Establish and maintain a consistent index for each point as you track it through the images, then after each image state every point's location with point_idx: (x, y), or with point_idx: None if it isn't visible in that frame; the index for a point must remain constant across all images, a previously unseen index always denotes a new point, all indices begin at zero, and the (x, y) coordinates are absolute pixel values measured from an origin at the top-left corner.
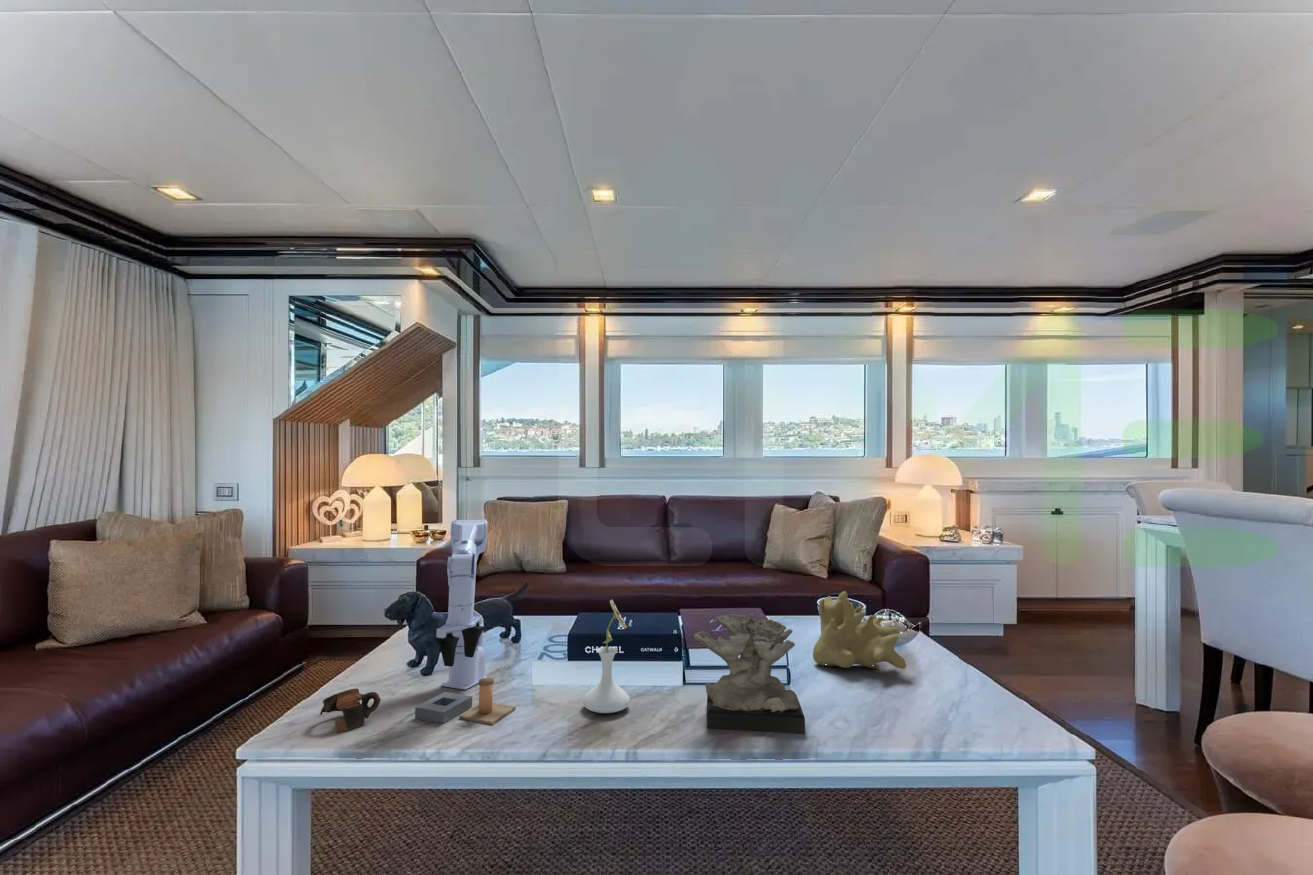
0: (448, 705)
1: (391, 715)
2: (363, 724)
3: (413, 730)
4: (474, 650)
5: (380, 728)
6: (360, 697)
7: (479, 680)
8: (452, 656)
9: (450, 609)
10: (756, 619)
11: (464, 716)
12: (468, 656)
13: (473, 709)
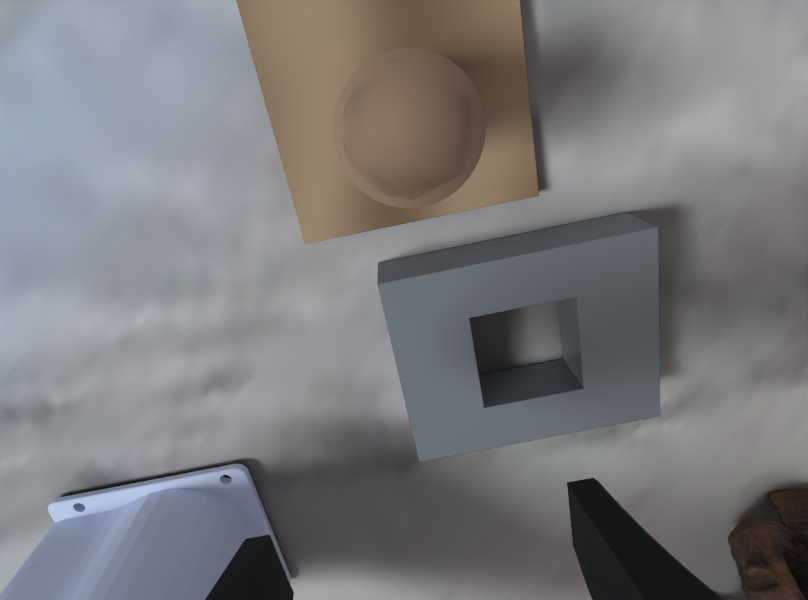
0: (563, 288)
1: (649, 484)
2: (773, 492)
3: (748, 275)
4: (226, 588)
5: (778, 412)
6: None
7: (461, 175)
8: (660, 550)
9: None
10: None
11: (531, 162)
12: (279, 569)
13: None
